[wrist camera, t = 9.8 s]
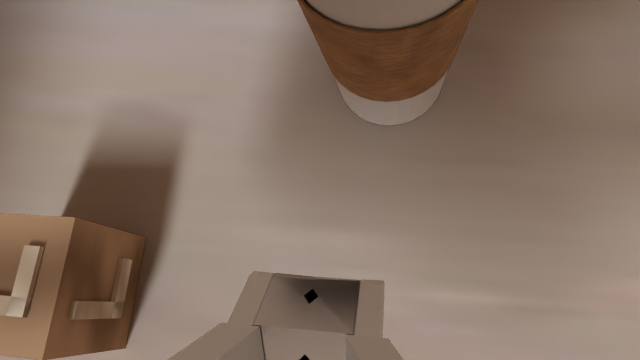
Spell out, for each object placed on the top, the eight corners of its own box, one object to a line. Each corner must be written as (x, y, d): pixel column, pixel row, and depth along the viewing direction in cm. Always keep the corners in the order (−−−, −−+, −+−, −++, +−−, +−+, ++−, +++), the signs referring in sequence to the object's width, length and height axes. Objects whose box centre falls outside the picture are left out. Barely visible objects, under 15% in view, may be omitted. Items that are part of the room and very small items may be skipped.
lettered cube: (130, 348, 24) (42, 361, 18) (30, 337, 25) (-84, 346, 19) (150, 238, 25) (76, 216, 19) (55, 232, 26) (-42, 210, 21)
